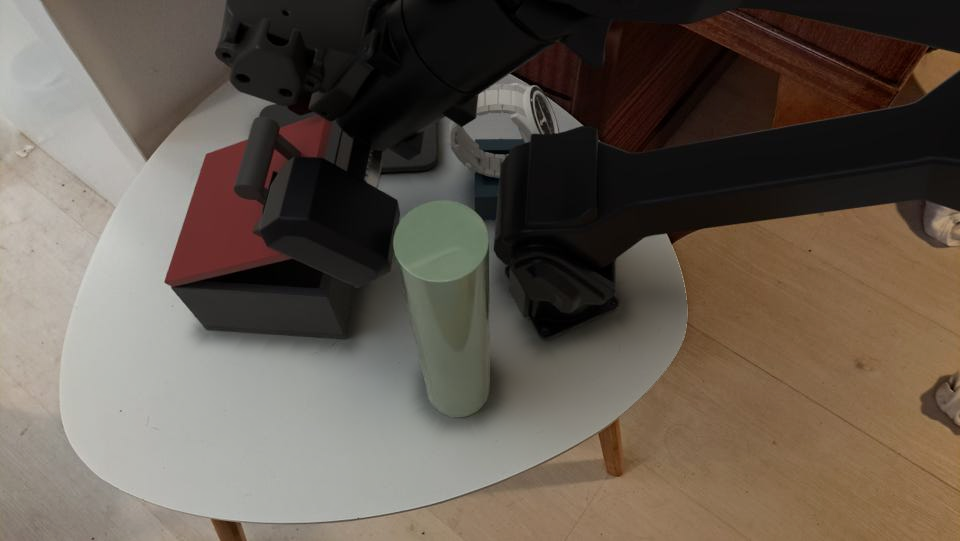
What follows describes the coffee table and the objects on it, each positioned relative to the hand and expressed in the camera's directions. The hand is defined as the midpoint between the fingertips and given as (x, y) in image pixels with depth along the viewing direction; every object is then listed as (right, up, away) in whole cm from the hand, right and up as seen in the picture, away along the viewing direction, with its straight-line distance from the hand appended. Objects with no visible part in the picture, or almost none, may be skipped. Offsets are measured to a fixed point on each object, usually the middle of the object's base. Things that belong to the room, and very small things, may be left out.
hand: (277, 168), depth 43 cm
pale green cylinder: (+11, -14, +7) cm, 19 cm away
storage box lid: (-3, -2, +4) cm, 5 cm away
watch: (+14, 0, +15) cm, 21 cm away
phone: (+1, +5, +18) cm, 19 cm away
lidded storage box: (-2, -6, +12) cm, 14 cm away
